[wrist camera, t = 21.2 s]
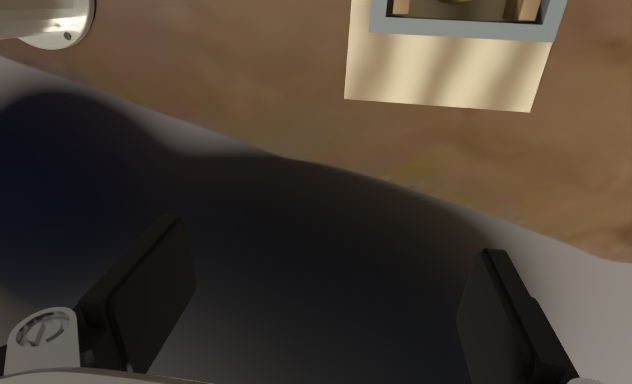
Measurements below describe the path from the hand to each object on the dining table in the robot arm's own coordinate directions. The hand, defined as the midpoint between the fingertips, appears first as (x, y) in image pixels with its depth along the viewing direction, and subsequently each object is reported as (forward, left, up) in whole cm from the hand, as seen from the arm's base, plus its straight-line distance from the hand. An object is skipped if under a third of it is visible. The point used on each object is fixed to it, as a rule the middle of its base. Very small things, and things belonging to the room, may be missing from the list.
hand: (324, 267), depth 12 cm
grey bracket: (+8, +8, -27) cm, 30 cm away
